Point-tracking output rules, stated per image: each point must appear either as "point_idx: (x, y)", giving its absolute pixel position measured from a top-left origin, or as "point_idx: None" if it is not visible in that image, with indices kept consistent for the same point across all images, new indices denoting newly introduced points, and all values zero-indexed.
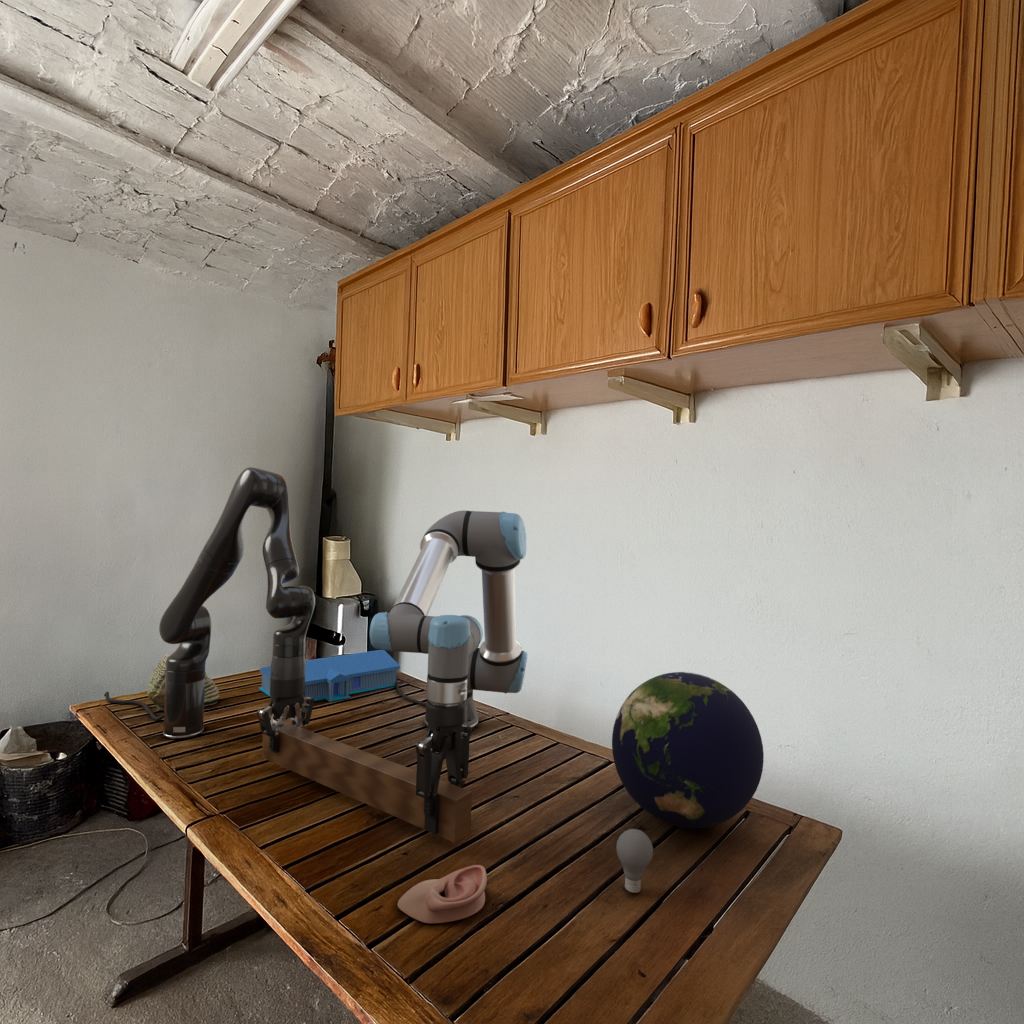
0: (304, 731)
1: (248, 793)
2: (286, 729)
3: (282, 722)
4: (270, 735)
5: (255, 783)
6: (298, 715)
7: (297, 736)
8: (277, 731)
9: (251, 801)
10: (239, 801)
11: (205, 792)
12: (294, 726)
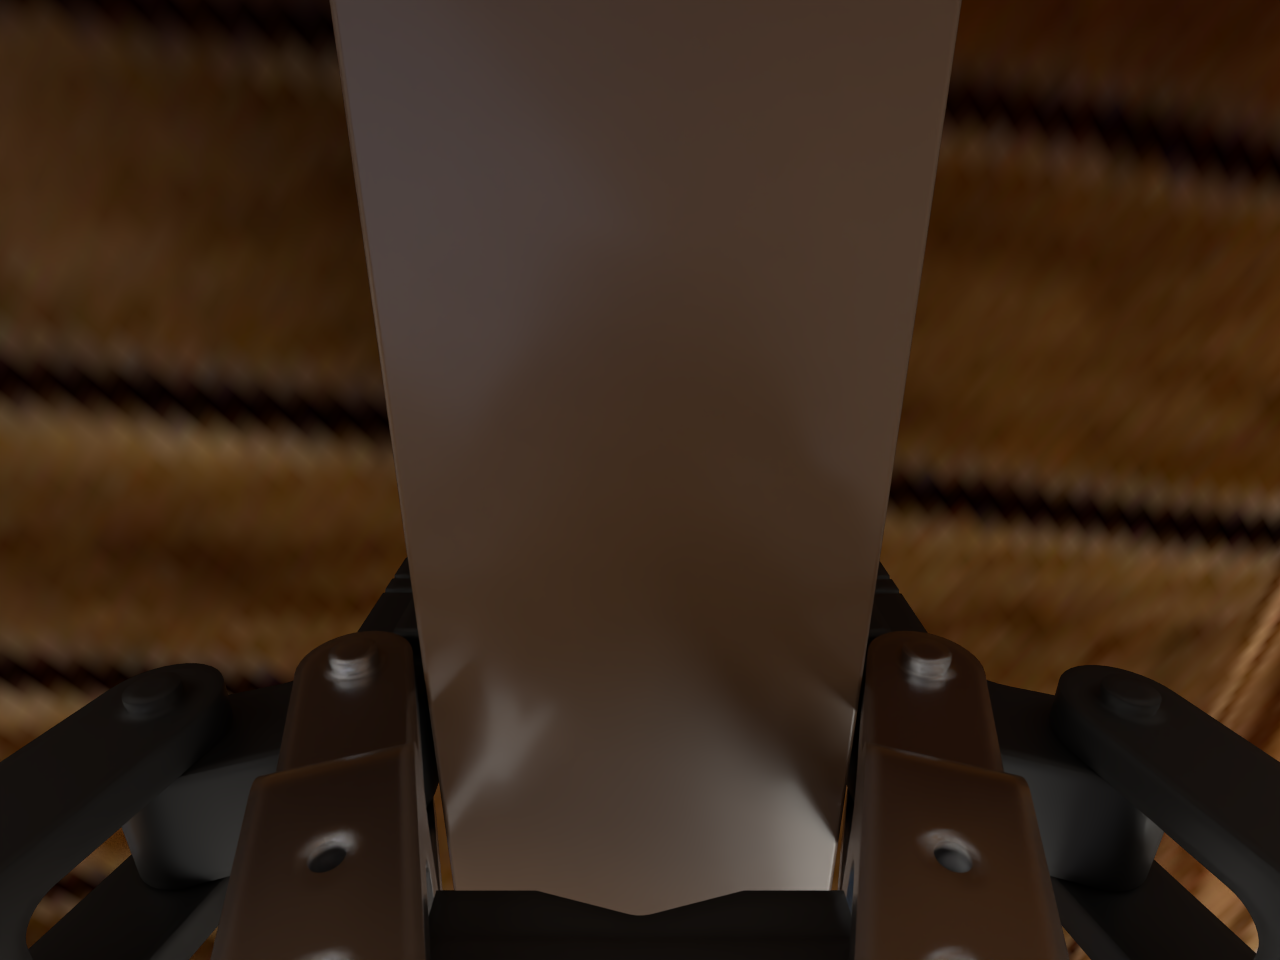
0: (499, 306)
1: (1096, 343)
2: (699, 694)
3: (952, 814)
4: (1097, 672)
5: (923, 463)
6: (344, 877)
7: (847, 142)
8: (942, 700)
9: (1212, 178)
10: (1254, 266)
11: (1229, 604)
12: (484, 711)
